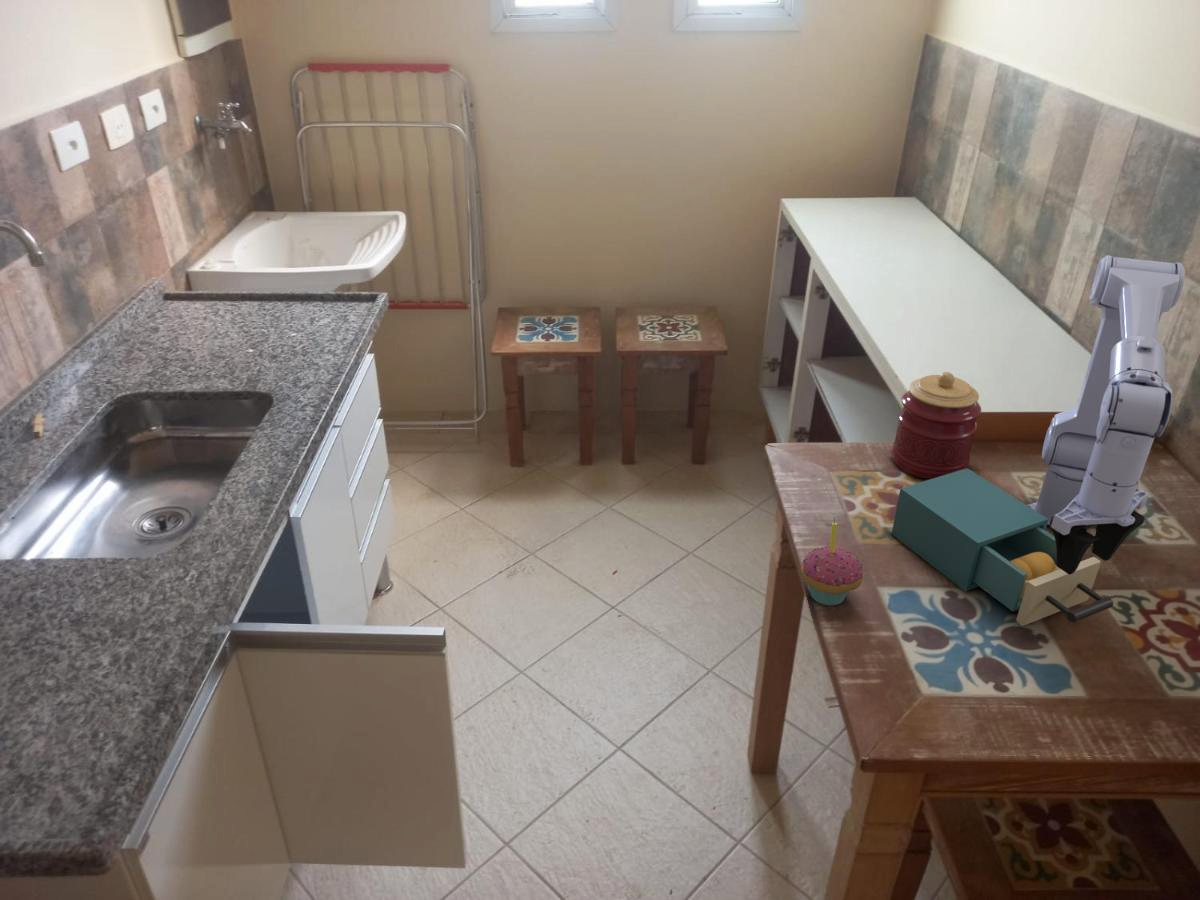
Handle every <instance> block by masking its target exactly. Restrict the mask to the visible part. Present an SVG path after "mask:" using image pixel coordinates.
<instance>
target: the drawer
mask: <svg viewBox="0 0 1200 900" xmlns="http://www.w3.org/2000/svg"><path fill="white" fill-rule="evenodd" d="M1034 552H1043V553H1046V554H1048V555H1049V556H1050V557H1051V558H1052V559H1053V561H1054V563H1055V565H1057V549H1056V541H1055V537H1054V534H1052V533H1050V532H1048V531H1047V530H1046V529H1045V530H1043V529H1042V528H1040V527H1039V526H1038V527H1035V528H1032V529H1029V530H1026V531H1024V532H1021V533H1018V534H1015V535H1012V536H1009V537H1006V538H1003V539H1000V540H997V541H995V542H992V543H989V544H986V545H983V546H981V548H980V552H979V556H978V559H977V563H976V567H975V571H974V575H973V579H972V581H973V582H974V583H976V584H977V585H978V586H979V587H980V588H981V589H982V590H983V591H984V592H986V593H987V594H988V595H990V596H991V597H993V598H994V599H995V600H996V601H998V602H999V603H1001V604H1002V605H1003V606H1005V607H1006V608H1007V609H1009V610H1010V611H1011V612H1016V611H1018V613H1017V616H1016V619H1015V622H1017V623H1019V624H1020V626H1023V627H1024V626H1026V625H1029V624H1031V623H1034V622H1037V621H1039V620H1042V619H1044V618H1047V617H1049V616H1052V615H1055V614H1057V613H1060V612H1062V613H1063V614H1065V615H1066V619H1067V620H1068V622H1070V623H1076V622H1078V621H1081V620H1084V619H1086V618H1089V617H1091V616H1093V615H1096V614H1097V613H1098V614H1099V613H1101V612H1103V611H1105V610H1108V609H1110V608H1112V607H1113V606H1114V601H1113V600H1112V598H1110V597H1108V596H1106V597H1103V596H1101V595H1100V594H1099V593H1097V592H1096V591H1094V590H1093V586H1094V584H1095V581H1096V578H1097V575H1098V573H1099V570H1100V566H1101V564H1102V561H1101V560H1099V559H1098V558H1096V556H1092V557H1090V558H1089V557H1088V558H1087V559H1084V560H1081V561H1080V564H1079V566H1078V568H1077V569H1076V571H1075V572H1074V573H1073V574H1070V575H1069V574H1067V573H1066V572H1064V571H1063V570H1061V569H1060V570H1057V571H1054V572H1052V573H1049V574H1046V575H1044V576H1041V577H1038V578H1036V579H1033V580H1030V581H1028V583H1027V586H1026V589H1025V593H1024V596H1023V598H1021V599H1020V597H1021V594H1022V590H1023V587H1024V584H1025V580H1026V577H1027V573H1025V572H1024V571H1022V570H1021V569H1020V568H1018V567H1017V566H1015V565H1014V564H1013V563H1011V562H1010V561H1012V560H1014V559H1017V558H1020V557H1022V556H1025V555H1028V554H1031V553H1034ZM1089 598H1092V599H1094V600H1095V601H1092V602H1091V603H1088V604H1085V605H1083V606H1080V607H1078V608H1076V609H1073V610H1071V609H1070V608H1072V607H1074V606H1077V605H1079V604H1081V603H1084V602H1087V601H1089Z"/></svg>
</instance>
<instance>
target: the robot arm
mask: <svg viewBox="0 0 1200 900" xmlns="http://www.w3.org/2000/svg"><path fill="white" fill-rule="evenodd" d="M1185 277H1186V269H1185V266H1183V264H1182V262H1165V261H1158V260H1157V261H1155V260H1147V259H1137V258H1128V257H1120V256H1119V257H1118V256H1112V255H1108V254H1107V255H1104V257H1103V258H1100V260H1099V262H1098V265H1097V268H1096V271H1095V275H1094V279H1093V283H1092V286H1091V289H1090V294H1089V305H1091V306H1094V307H1097V308H1099V309H1100V312H1101V321H1100V324H1099V328H1098V331H1097V334H1096V338H1095V340H1094V344H1093V348H1092V352H1091V355H1090V358H1089V362H1088V365H1087V369H1086V372H1085V375H1084V379H1083V382H1082V386H1081V390H1080V392H1079V396H1078V399H1077V403H1076V406H1075V407H1073V408H1070V409H1067V410H1065V411H1061V412H1058V413H1056V414H1054V417H1052V418H1051V421H1050V424H1049V427H1048V429H1047V430H1046V433H1045V437H1044V441H1043V445H1042V450H1041V460H1042V462H1043V463H1044V464H1045V465H1047V468H1046V472H1045V475H1044V478H1043V481H1042V486H1041V488H1040V492H1039V495H1038V499H1037V501H1035V502H1032V503H1029V504H1026V505H1027V506H1029V507H1030V508H1032V509H1034V510H1035V511H1037V512H1038V513H1040V514H1042V515H1043V516H1045V517H1046V518H1048V519H1049V520H1048V523H1047V526H1049V527H1050V528H1051V531H1052V533H1053V534H1052V535H1053V536H1054V537H1055V541H1056V549H1057V567H1058V568H1060V569H1061V570H1063V571H1064V572H1066V573H1067V574H1069V575H1070V574H1073V573H1074V572H1075V571H1076V569H1077V568H1078V566H1079V564H1080V562H1081V561H1082V560H1083V557H1084V555H1085V554H1086V552H1087V551H1088V550H1089V548H1090V547H1091V546H1092V548H1091V550H1092V551H1091V552H1092V554H1094V555H1096V557H1098V558H1100V559H1101V560H1103V561H1105V562H1107V561H1109V560H1110V559H1111V558H1112V557H1113V555H1114V554H1116V552H1117V551H1118V549H1119V547H1120V546H1121V545H1122V543H1123V542H1124V541H1125V540H1126V539H1127V537H1129V536H1130V535H1131V533H1133V532H1135V530H1136V529H1137V528H1139V527H1140V526H1142V525H1143V524H1144V522H1145V519H1146V517H1144V515H1143V514H1141V513H1139V512H1137V511H1136V509H1143V508H1145V507H1146V504H1147V501H1148V499H1149V497H1150V494H1149V493H1147V492H1145V491H1143V490H1142V489H1140V488H1138V486H1139V482H1140V480H1141V476H1142V475H1143V472H1144V468H1145V465H1146V464H1147V460H1148V457H1149V455H1150V452H1151V449H1152V446H1153V443H1154V440H1155V438H1156V437H1158V438H1160V437H1162V435H1163V433H1164V432H1165V430H1166V428H1167V426H1168V423H1169V421H1170V418H1171V415H1172V414H1171V413H1172V410H1173V409H1172V408H1173V397H1174V396H1173V394H1174V393H1173V389H1172V388H1171V387H1170V382H1168V381H1166V380H1165V378H1166V377H1165V375H1166V349H1165V347H1164V345H1163V344H1162V342H1160V341H1158V340H1157V339H1156V338H1157V332H1158V326H1159V323H1160V322H1159V321H1160V315H1161V314H1162V313H1167V312H1170V310H1172V308H1174V307H1175V306H1176V305H1177V303H1178V301H1179V299H1180V296H1181V294H1182V290H1183V287H1184V284H1185ZM1155 434H1156V436H1155ZM1090 525H1096V526H1095V527H1096V528H1095V532H1094V534H1091V533H1090V532H1089V531H1088V528H1087V527H1086V526H1090Z"/></svg>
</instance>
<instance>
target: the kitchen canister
mask: <svg viewBox="0 0 1200 900" xmlns="http://www.w3.org/2000/svg"><path fill="white" fill-rule="evenodd" d="M979 399H980V395H979V392H978V391H977V390H976V389H975V388H974V387H973V386H972V385H970V384H969V383H968V382H966V381H965V380H963V379H961V378H958V377H955V376H954V375H953V373H952V372H950V371H944V372H942V373H940V374H930V375H926V376H923V377H921V378H917V379H915V380H913V381H911V382H910V384H909V386H908V390H907V391H906V392H905V393H903V395H902V396H901V404H902V406H903V407H902V409H901V410H900V411H899V413H898V422H897V427H896V433H895V438H894V441H893V443H892V449H891V451H892V460H893V463H894V464H895V465H896V466H897V467H898V468H899V469H901V470H902V471H903V472H905V473H907V474H910V475H911V476H914V477H917V478H921V479H924V480H925V479H926V480H930V479H933V478H937V477H940V476H943V475H947V474H950V473H953V472H957V471H960V470H963V469H967V468H968V467H969V463H970V459H971V451H972V447H973V442H974V438H975V434H976V432H977V429H978V424H977V422H976V421H977V418H979V416H980V415H981V413H982V407H981V405H980V403H979V402H978V401H979Z"/></svg>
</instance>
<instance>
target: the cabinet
mask: <svg viewBox="0 0 1200 900" xmlns="http://www.w3.org/2000/svg"><path fill="white" fill-rule="evenodd" d="M1027 505H1028V504H1026V503H1024V502H1022V501H1021V500H1019V499H1017V498H1016V497H1015V496H1013V495H1011V494H1009V493H1008V492H1007V491H1005V490H1004V489H1002V488H1000V487H999V486H997V485H995V484H994V483H992V482H990V481H989V480H987V479H986V478H984V477H983V476H982V475H979V474H978V473H976V472H975V471H974V470H971V469H970V468H968V467H966V469H963V470H960V471H957V472H953V473H950V474H947V475H943V476H940V477H937V478H933V479H926V480H924V481H921V482H917V483H914V484H910V485H907V486H904V487H900V489H899V493H898V498H897V504H896V509H895V514H894V519H893V523H892V528H891V529H892V530H891V535H892V536H893V537H894V538H896V540H898V541H900V542H901V543H902V544H904V545H905V546H906V547H908V549H910V550H911V551H913V553H915V554H917V556H919V557H920V558H921V559H923V560H924V561H925V562H927V563H928V564H929V565H931V566H932V567H933V568H935V569H936V570H937V571H939V572H940V573H941V574H942V575H943V576H945V577H946V578H947V579H948V580H950V581H952V583H954V584H955V585H956V586H958V587H959V588H960V589H962V590H963V592H968V591H971V590H973V589H976V588H979V587H980V586H978V585H977V584H976V583H974V582H973V581H972V579H973V575H974V571H975V567H976V563H977V559H978V556H979V552H980V548H981V546H983V545H986V544H989V543H992V542H995V541H997V540H1000V539H1003V538H1006V537H1009V536H1012V535H1015V534H1018V533H1021V532H1024V531H1026V530H1029V529H1032V528H1035V527H1038V526H1039V527H1040V528H1042V529H1043V530H1045V531H1046V529H1047V526H1048V525H1047V523H1048V520H1049V519H1048V518H1046V517H1045V516H1043V515H1042V514H1040V513H1038V512H1037V511H1035V510H1034V509H1032V508H1030V507H1029V506H1027Z"/></svg>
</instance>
